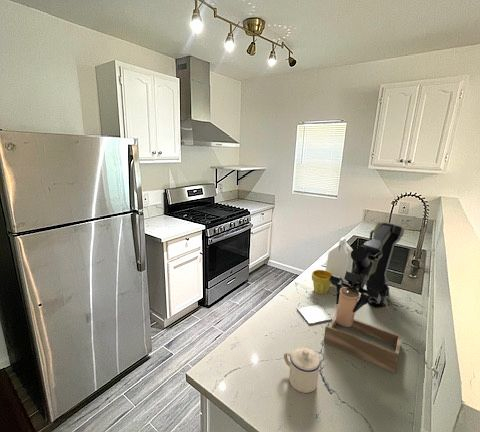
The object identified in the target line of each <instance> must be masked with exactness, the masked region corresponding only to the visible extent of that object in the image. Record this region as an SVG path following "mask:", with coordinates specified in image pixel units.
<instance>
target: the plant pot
mask: <svg viewBox="0 0 480 432" xmlns="http://www.w3.org/2000/svg"><path fill="white" fill-rule="evenodd" d="M331 275H332V274H331V273H330V272H328V271H326V269H325V270H324V269H316V270H313V271H312V273H311V280H312V283H313V291H314V293H316V294H318V295H326V294H327V293H328V291H329V289H330V287H331V286H330V284H331V282H330V280H329V278H330V276H331Z"/></svg>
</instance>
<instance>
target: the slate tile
mask: <svg viewBox="0 0 480 432" xmlns="http://www.w3.org/2000/svg"><path fill="white" fill-rule="evenodd" d="M296 310H297V312H298V313H299V314H300V316H302V318H303V319H304V320H305V322H306V323H308V326H309V325H310V326H311V325H315V324H321V323H324V322H325V323H326V322H332V320H333V318H332V317H331V316H330V315H329V314H328V313H327V312H326V311H325V310H324V309H323V308H322V307H321V306H320V305H319V304H314V305H307V306H301V307H297V308H296Z"/></svg>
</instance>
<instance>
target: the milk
mask: <svg viewBox="0 0 480 432" xmlns="http://www.w3.org/2000/svg"><path fill="white" fill-rule="evenodd" d="M346 240H347V239H346V237H345V236H342V237H341V238H340V239H339V243H337V244H336V245H335V246H333V247H332V248H331V249H330V250H329V251H328V255H327V260H326V268H325V271H328V272H330V273H331V274H332V275H336V276H339V277H341V278H342V280H343V281H344V282H347V281H346V280H345V279H344V277H345V274H346V271H348V272H351V271H352V270H353V265H354V264H353V263H354V262H353V260H352V258H351V252H352V251H353V250H354V249H353V247H351V246H350V244H349V243H348V242H347V241H346ZM347 283H348V282H347ZM330 287H332V288H336V286H334V285H333V284H332V283H331V284H330ZM336 289H337V288H336Z"/></svg>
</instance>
